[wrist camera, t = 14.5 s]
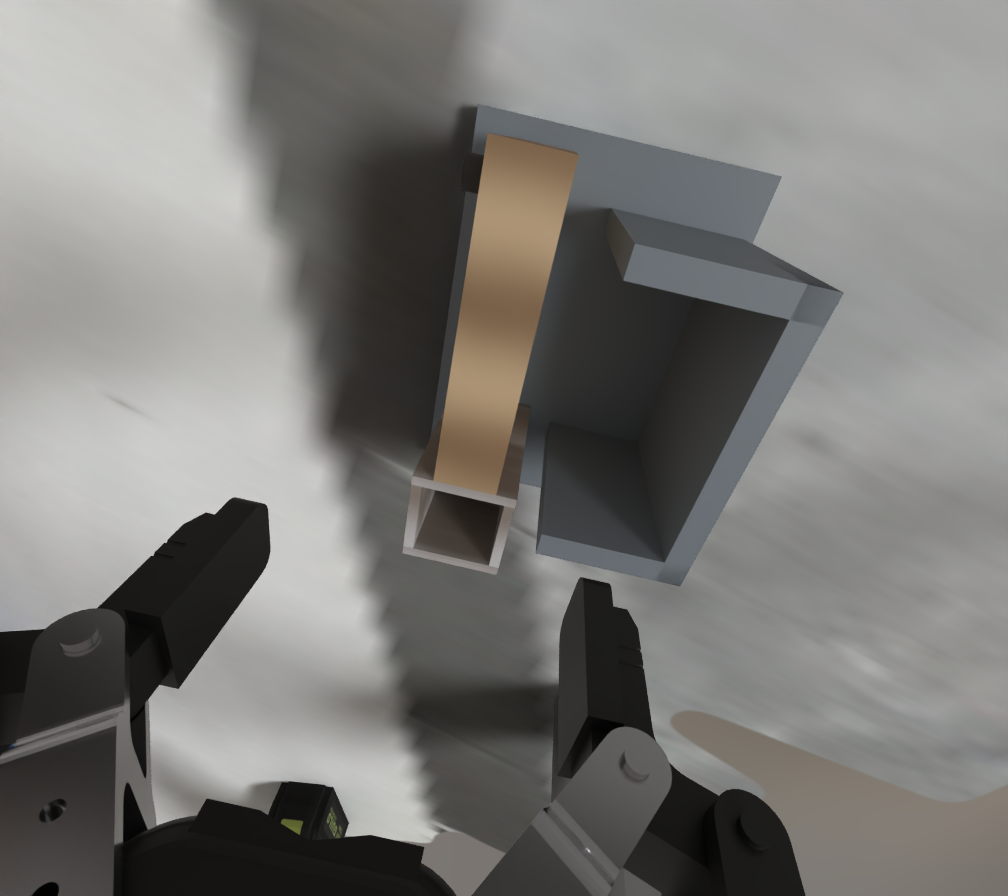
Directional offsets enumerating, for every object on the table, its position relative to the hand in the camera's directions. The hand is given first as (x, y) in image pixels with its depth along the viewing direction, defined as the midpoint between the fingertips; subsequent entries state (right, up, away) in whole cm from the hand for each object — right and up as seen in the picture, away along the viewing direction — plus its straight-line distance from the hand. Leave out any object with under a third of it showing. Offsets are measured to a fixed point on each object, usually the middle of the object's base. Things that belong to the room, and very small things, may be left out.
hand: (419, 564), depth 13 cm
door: (+2, +10, +17) cm, 20 cm away
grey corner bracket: (+6, +10, +18) cm, 22 cm away
